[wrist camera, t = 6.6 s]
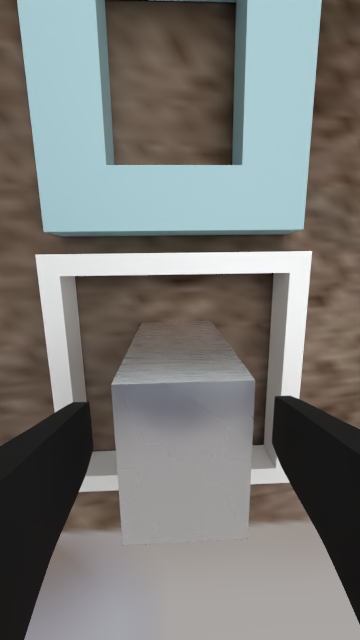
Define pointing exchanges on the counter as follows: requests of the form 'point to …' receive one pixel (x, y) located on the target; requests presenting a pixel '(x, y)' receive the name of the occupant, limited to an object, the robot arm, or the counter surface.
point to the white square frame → (286, 267)
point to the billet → (183, 436)
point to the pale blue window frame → (170, 180)
